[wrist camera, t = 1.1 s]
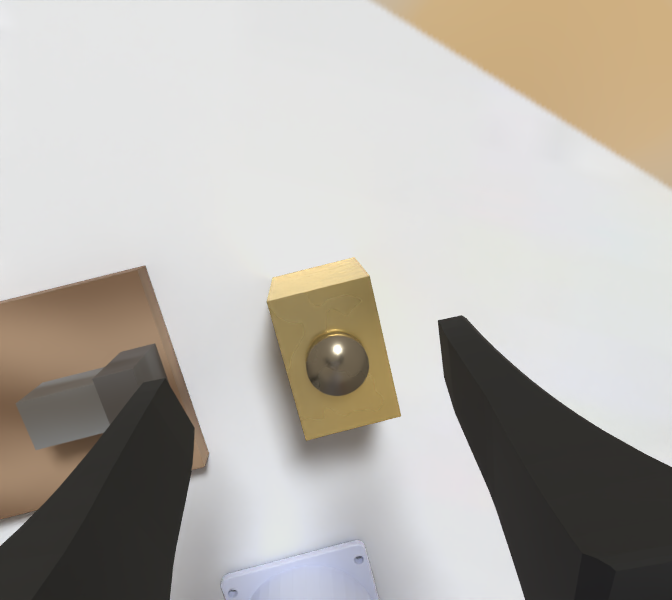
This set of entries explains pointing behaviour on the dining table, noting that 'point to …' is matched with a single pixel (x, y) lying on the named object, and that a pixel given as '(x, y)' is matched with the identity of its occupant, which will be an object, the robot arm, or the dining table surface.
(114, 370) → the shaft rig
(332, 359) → the block
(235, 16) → the dining table surface
